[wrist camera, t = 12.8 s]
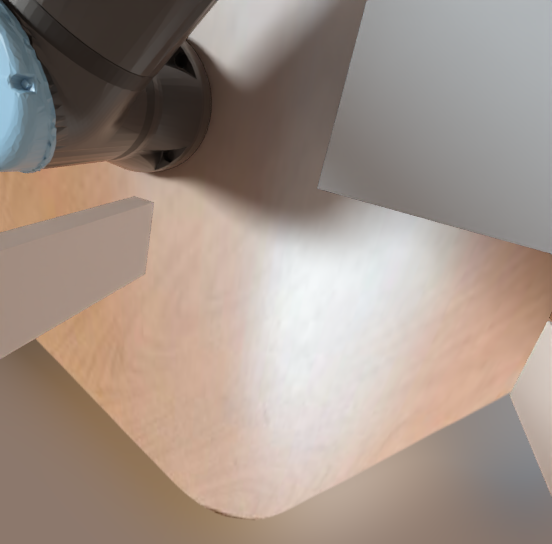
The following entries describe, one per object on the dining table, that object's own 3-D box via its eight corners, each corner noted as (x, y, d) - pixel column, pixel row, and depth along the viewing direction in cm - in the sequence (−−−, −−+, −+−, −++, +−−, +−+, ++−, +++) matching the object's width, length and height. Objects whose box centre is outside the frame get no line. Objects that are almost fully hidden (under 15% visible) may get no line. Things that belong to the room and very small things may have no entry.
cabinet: (351, 171, 45) (311, 209, 24) (403, -10, 39) (408, -159, 18) (612, 241, 40) (828, 358, 20) (715, 51, 35) (1167, -56, 14)
